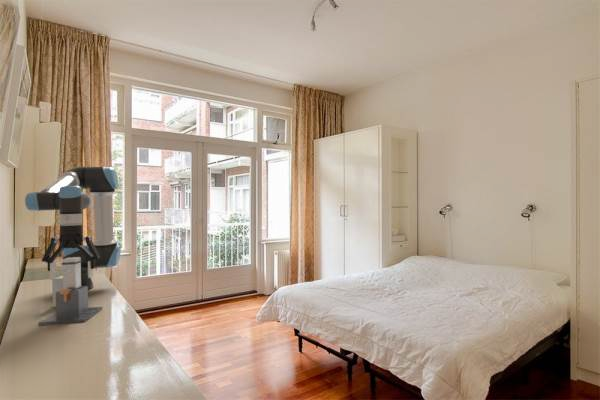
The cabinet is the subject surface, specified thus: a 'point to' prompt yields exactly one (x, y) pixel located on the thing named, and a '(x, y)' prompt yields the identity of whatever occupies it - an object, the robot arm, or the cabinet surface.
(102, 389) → the cabinet surface
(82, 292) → the stand base
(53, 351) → the cabinet surface
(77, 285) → the column
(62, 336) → the cabinet surface
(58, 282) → the supplement box
